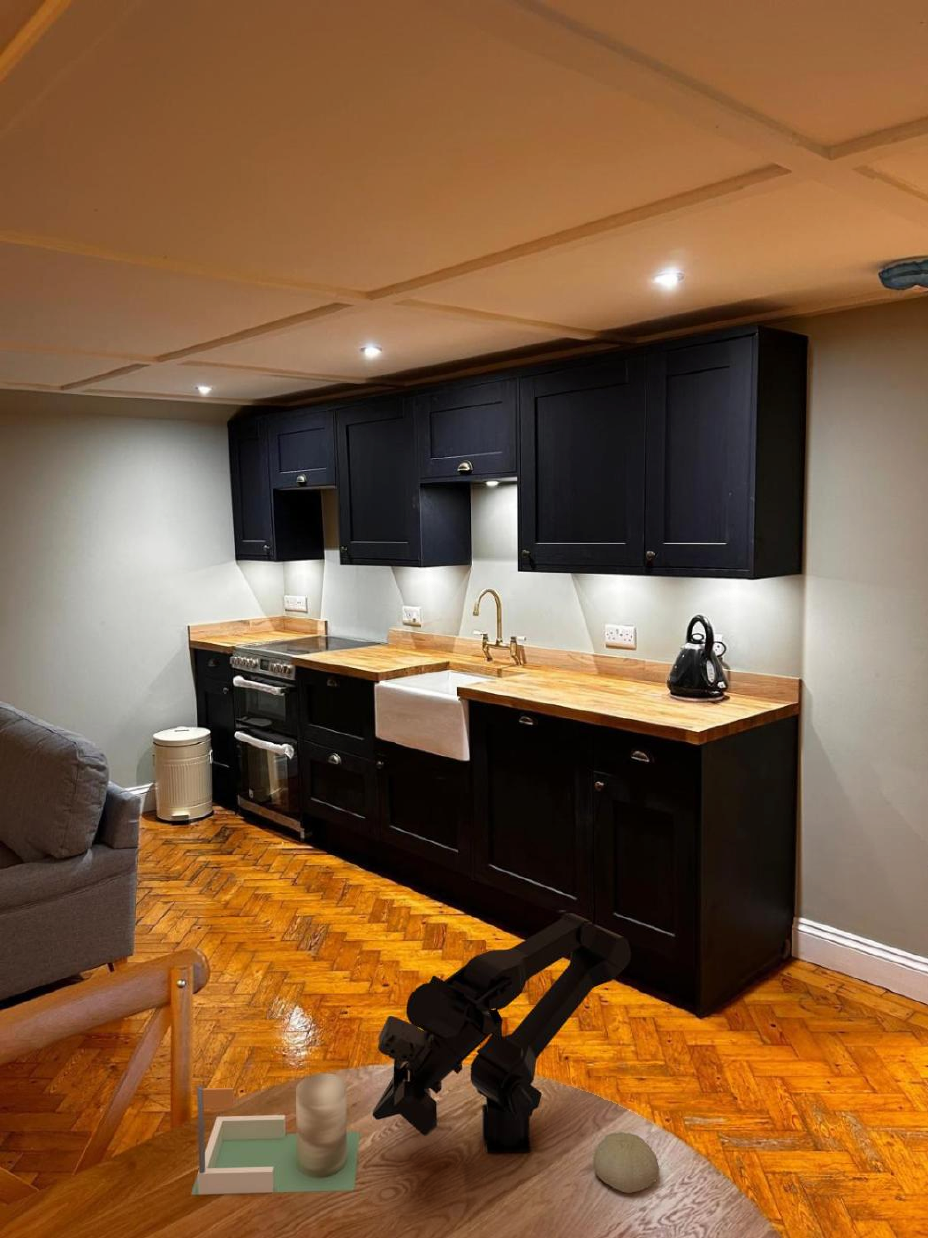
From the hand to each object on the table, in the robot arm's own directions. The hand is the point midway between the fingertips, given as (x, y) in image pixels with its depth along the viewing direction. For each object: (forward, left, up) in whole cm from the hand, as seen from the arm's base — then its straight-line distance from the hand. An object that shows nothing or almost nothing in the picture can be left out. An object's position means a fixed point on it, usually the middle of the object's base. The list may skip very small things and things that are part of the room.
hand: (374, 1116), depth 131 cm
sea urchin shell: (-36, +3, -8) cm, 36 cm away
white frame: (+18, 0, -7) cm, 20 cm away
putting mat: (+14, 0, -8) cm, 15 cm away
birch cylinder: (+7, 0, -7) cm, 10 cm away
